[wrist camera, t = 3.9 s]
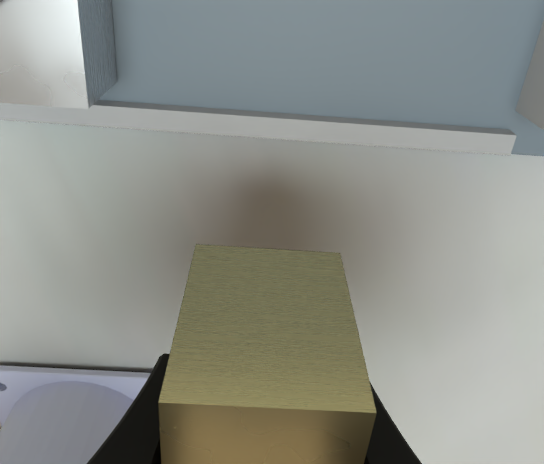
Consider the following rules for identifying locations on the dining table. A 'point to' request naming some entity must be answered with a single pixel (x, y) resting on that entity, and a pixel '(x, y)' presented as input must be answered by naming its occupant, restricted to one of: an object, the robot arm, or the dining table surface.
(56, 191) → the dining table surface
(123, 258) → the dining table surface
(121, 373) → the robot arm
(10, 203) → the dining table surface
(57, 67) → the free jaw
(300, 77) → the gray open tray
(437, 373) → the dining table surface
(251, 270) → the wooden block
